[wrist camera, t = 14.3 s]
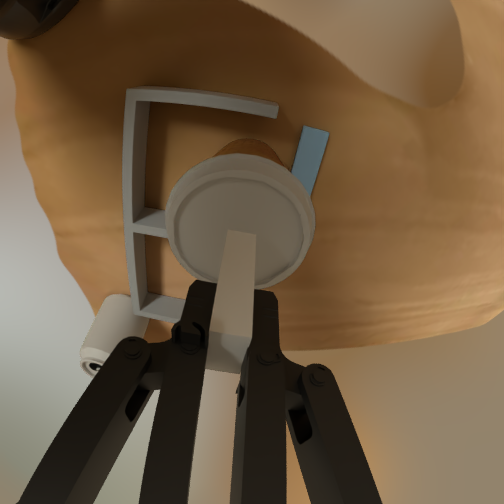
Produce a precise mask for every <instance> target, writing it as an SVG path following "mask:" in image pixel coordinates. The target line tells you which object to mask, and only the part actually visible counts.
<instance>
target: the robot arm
mask: <svg viewBox="0 0 504 504" xmlns="http://www.w3.org/2000/svg"><path fill="white" fill-rule="evenodd" d="M77 1H78V0H0V37H3V38H6V39H11V40H16V39H27V38H32V37H35V36H38V35H40V34H42V33H44V32H45V31H47V30H48V29H50V28H51V27H53V26H54V25H55V24H56V23H58V22H59V21H60V20H61V19H62V18H63V17H64V16H65V15H66V14H67V13H68V12H69V11H70V10H71V9H72V7H73V6H74V5H75V4H76V3H77ZM255 253H256V234H250V233H245V232H239V231H234V230H228V231H227V236H226V242H225V247H224V252H223V257H222V262H221V268H220V273H219V278H218V283H212V282H207V281H201V280H195V281H194V282H193V283H192V285H191V286H190V287H189V290H188V294H187V297H186V301H185V304H184V308H183V312H182V315H181V319H180V320H179V321H178V322H177V323H175V324H174V326H173V327H172V329H171V332H172V338H171V339H169V340H167V341H165V342H160V343H147V341H145V340H144V339H142V338H140V337H137V336H129V337H126V338H124V339H122V340H121V341H120V342H119V343H118V344H117V345H116V347H115V348H114V350H113V351H112V352H111V354H110V355H109V357H108V358H107V359H106V361H105V362H104V364H103V365H102V367H101V368H100V369H99V371H98V372H97V374H96V375H95V377H94V378H93V380H92V381H91V383H90V384H89V386H88V387H87V389H86V390H85V392H84V393H83V395H82V396H81V398H80V399H79V401H78V402H77V404H76V405H75V407H74V408H73V410H72V411H71V413H70V414H69V416H68V418H67V419H66V421H65V422H64V424H63V426H62V427H61V429H60V430H59V432H58V434H57V435H56V437H55V438H54V440H53V442H52V443H51V445H50V447H49V448H48V450H47V452H46V453H45V455H44V457H43V458H42V460H41V462H40V463H39V465H38V467H37V469H36V471H35V472H34V474H33V476H32V478H31V479H30V481H29V483H28V485H27V487H26V489H25V491H24V492H23V494H22V496H21V498H20V500H19V502H18V503H16V504H93V503H94V501H95V499H96V497H97V495H98V493H99V491H100V489H101V487H102V486H103V484H104V482H105V480H106V478H107V476H108V474H109V472H110V471H111V469H112V467H113V465H114V463H115V461H116V459H117V457H118V455H119V454H120V452H121V450H122V448H123V446H124V444H125V443H126V441H127V439H128V437H129V435H130V433H131V432H132V430H133V428H134V426H135V424H136V422H137V420H138V419H139V417H140V415H141V413H142V411H143V410H144V408H145V406H146V404H147V402H148V401H149V399H150V397H151V395H152V393H153V392H154V390H159V389H160V394H159V398H158V403H157V407H156V412H155V416H154V421H153V426H152V431H151V436H150V442H149V446H148V452H147V457H146V462H145V468H144V474H143V480H142V485H141V492H140V498H139V504H188V496H189V487H190V477H191V469H192V461H193V453H194V445H195V437H196V430H197V422H198V414H199V407H200V400H201V394H202V386H203V379H204V372H205V369H210V370H216V371H222V372H229V373H236V374H240V371H241V376H240V382H239V385H238V387H237V390H236V393H237V394H238V395H237V408H236V422H235V437H234V450H233V464H232V478H231V492H230V504H286V484H287V482H286V481H287V480H286V479H287V478H286V421H287V424H288V428H289V431H290V434H291V438H292V442H293V445H294V448H295V452H296V455H297V459H298V462H299V465H300V469H301V472H302V475H303V479H304V482H305V485H306V489H307V492H308V495H309V499H310V501H311V504H382V501H381V498H380V496H379V493H378V490H377V487H376V485H375V482H374V479H373V476H372V473H371V471H370V468H369V465H368V462H367V460H366V457H365V454H364V452H363V449H362V446H361V444H360V441H359V439H358V436H357V433H356V431H355V428H354V425H353V423H352V421H351V418H350V415H349V413H348V410H347V408H346V405H345V402H344V400H343V397H342V395H341V392H340V390H339V387H338V385H337V382H336V380H335V377H334V375H333V373H332V372H331V370H330V369H328V368H327V367H326V366H324V365H321V364H310V365H308V366H307V367H304V366H301V365H299V364H296V363H294V362H292V361H290V360H288V359H287V358H286V357H285V356H284V355H283V354H282V351H281V349H280V343H279V319H278V300H277V298H276V296H275V295H274V293H273V292H270V291H264V290H258V289H254V278H255Z"/></svg>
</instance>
